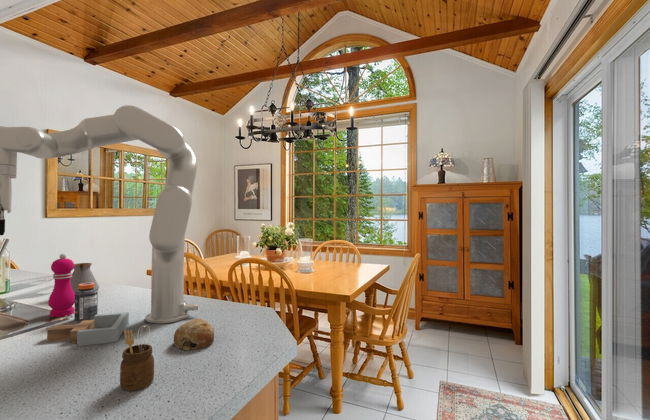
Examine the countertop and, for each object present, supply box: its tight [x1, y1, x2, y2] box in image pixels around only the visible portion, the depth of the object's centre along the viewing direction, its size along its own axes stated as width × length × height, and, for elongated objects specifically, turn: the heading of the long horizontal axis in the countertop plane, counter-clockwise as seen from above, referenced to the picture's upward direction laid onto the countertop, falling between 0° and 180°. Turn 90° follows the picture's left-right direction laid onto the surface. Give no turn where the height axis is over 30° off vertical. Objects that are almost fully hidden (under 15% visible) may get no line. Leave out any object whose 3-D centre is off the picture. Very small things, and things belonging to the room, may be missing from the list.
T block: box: [46, 320, 96, 344], centre depth 90 cm, size 9×9×3 cm
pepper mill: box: [47, 253, 75, 318], centre depth 109 cm, size 7×7×20 cm
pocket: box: [76, 311, 130, 347], centre depth 92 cm, size 8×15×4 cm, turn 20°
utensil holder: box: [119, 325, 155, 392], centre depth 66 cm, size 6×6×12 cm
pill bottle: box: [73, 283, 99, 323], centre depth 104 cm, size 6×6×11 cm
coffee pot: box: [70, 262, 100, 293], centre depth 128 cm, size 21×12×15 cm, turn 35°
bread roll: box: [173, 318, 215, 351], centre depth 87 cm, size 10×10×8 cm
